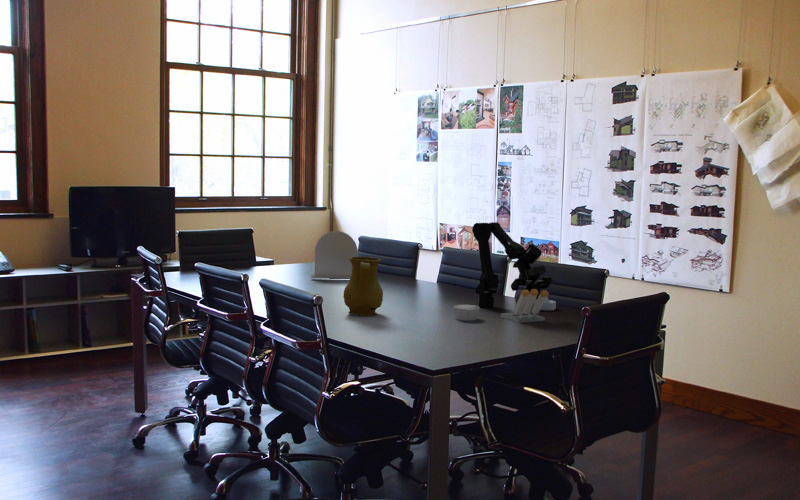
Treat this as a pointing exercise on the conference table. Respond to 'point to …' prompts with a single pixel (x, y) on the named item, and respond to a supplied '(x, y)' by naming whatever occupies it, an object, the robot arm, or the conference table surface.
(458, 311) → the ramekin
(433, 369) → the conference table surface
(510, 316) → the panel
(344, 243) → the award
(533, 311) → the tripped breaker
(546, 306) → the wedge on round base
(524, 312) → the grey long bar piece
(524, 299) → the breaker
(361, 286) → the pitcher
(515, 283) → the robot arm
